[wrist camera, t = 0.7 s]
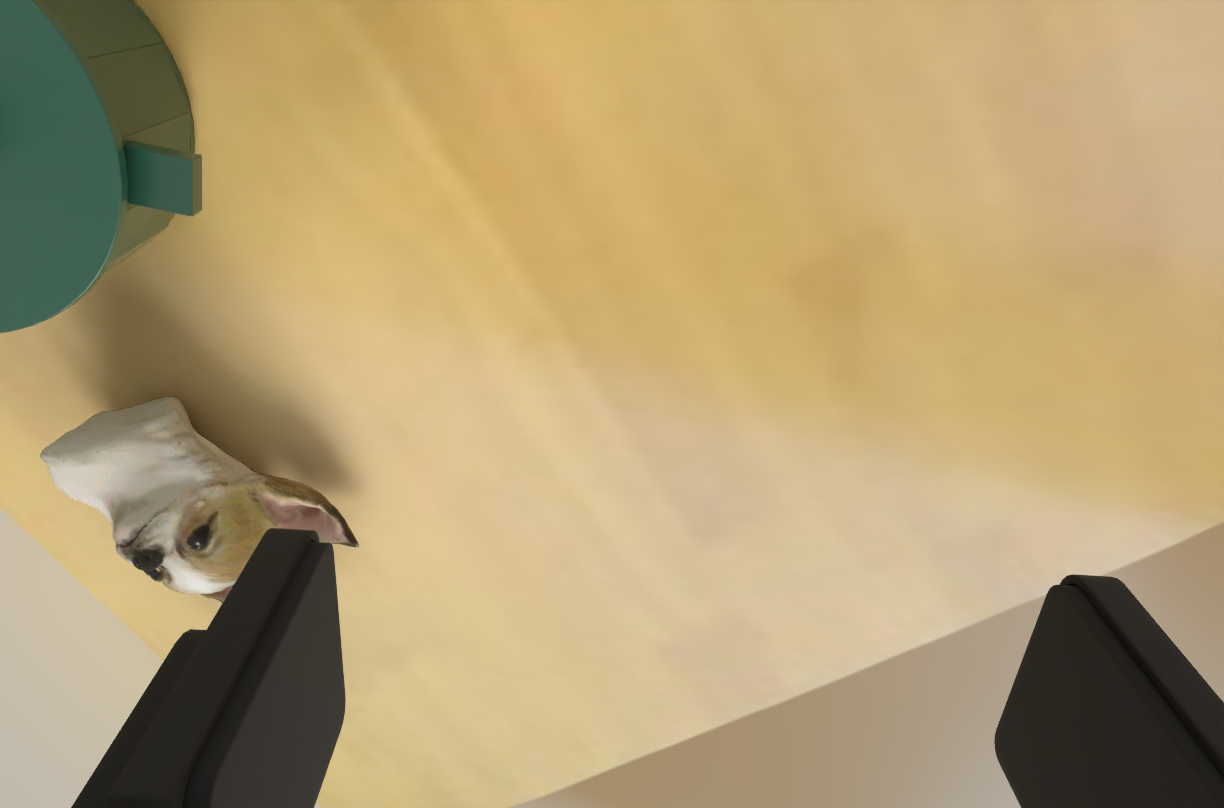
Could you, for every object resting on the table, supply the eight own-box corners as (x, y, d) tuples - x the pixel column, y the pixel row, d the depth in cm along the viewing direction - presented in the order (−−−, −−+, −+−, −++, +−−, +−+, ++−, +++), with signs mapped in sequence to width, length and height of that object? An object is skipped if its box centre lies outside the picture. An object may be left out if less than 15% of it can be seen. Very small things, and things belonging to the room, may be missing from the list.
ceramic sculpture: (96, 412, 38) (343, 612, 45) (175, 326, 46) (377, 508, 52) (-49, 528, 41) (202, 701, 48) (48, 430, 49) (253, 591, 55)
